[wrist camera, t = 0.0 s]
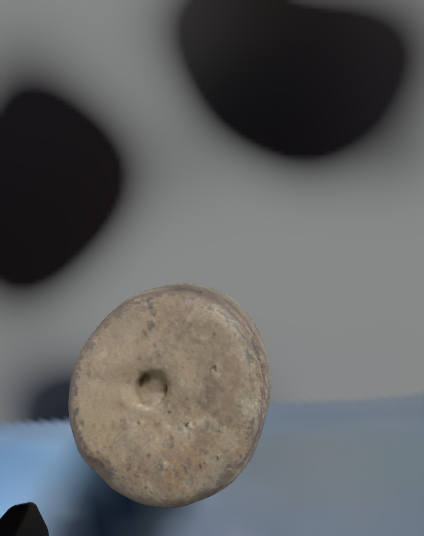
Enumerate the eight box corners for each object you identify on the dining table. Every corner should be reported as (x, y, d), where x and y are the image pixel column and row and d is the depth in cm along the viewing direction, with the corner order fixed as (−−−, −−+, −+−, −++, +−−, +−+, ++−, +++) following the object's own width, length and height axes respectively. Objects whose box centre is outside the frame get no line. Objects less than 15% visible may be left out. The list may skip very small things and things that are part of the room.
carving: (140, 438, 22) (46, 541, 11) (138, 302, 24) (55, 260, 12) (254, 433, 22) (289, 533, 11) (246, 297, 24) (269, 250, 12)
